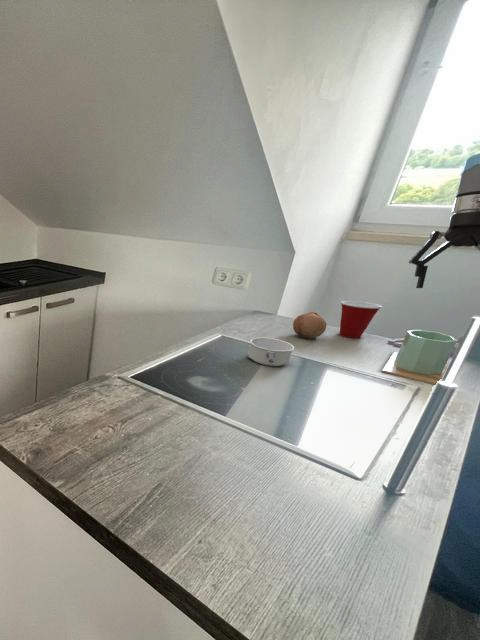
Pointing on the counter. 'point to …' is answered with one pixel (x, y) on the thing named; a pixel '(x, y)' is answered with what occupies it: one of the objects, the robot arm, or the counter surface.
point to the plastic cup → (356, 317)
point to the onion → (309, 325)
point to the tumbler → (425, 352)
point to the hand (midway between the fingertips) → (452, 289)
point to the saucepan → (270, 351)
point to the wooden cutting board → (395, 370)
